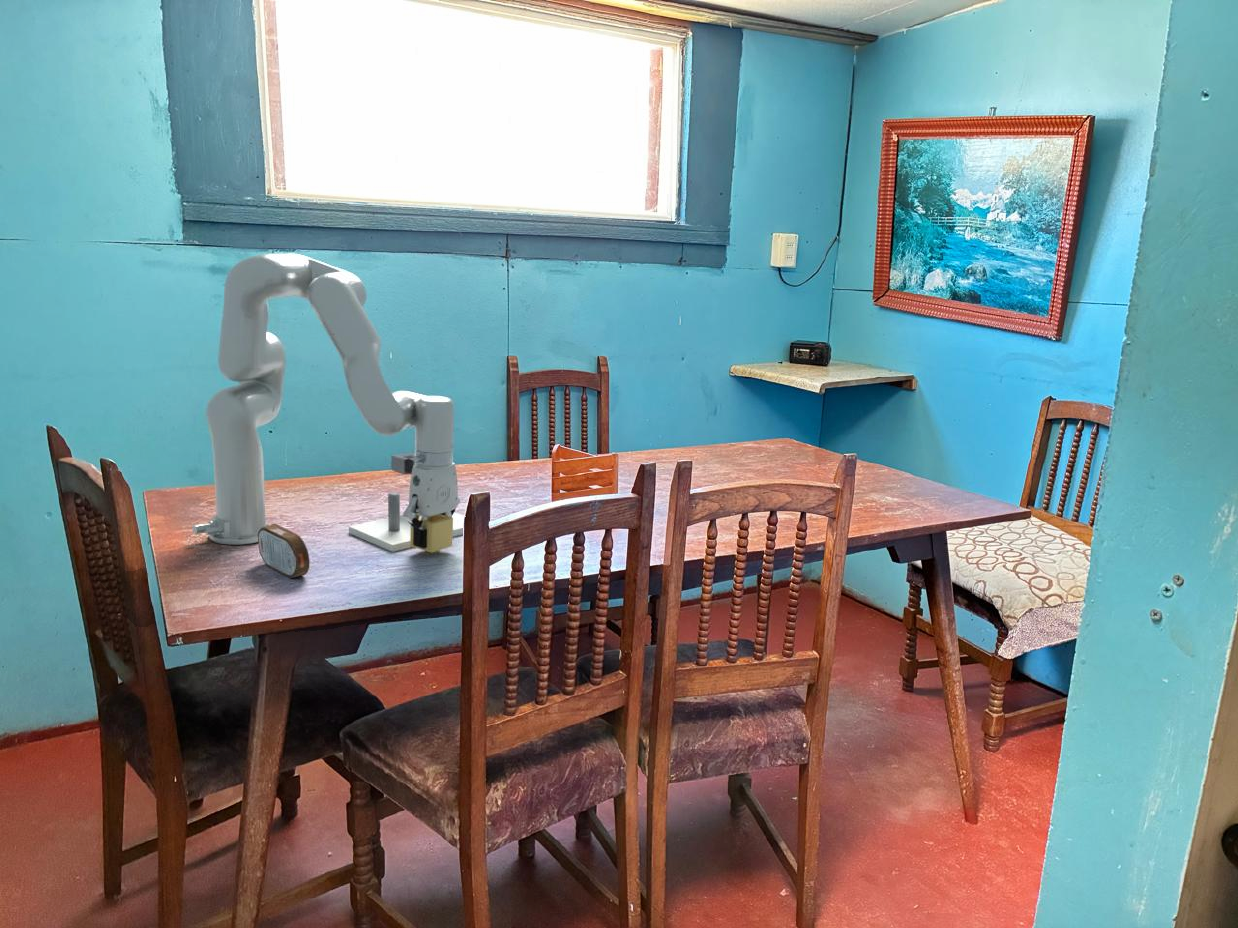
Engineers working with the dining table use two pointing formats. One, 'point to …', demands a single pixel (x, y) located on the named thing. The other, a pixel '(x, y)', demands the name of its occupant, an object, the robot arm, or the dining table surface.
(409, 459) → the bar
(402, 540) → the pin board
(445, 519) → the collar
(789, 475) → the dining table surface
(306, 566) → the tin
